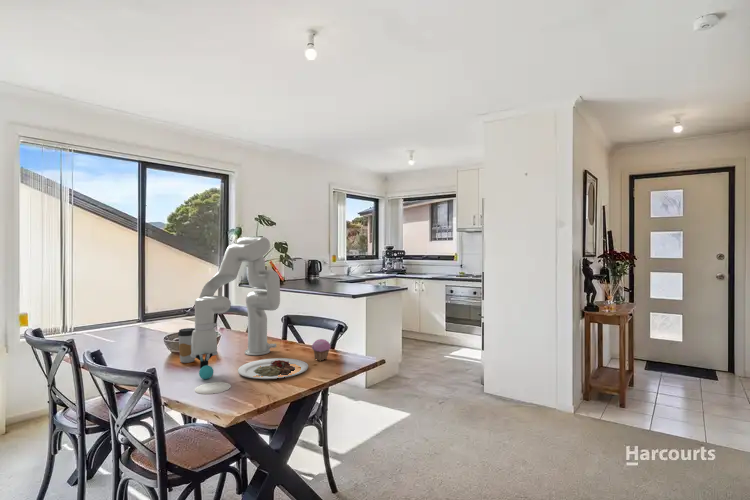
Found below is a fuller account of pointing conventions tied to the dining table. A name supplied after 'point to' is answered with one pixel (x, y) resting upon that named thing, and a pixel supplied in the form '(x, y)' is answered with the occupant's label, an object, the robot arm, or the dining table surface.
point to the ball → (206, 372)
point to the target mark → (212, 388)
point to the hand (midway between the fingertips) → (204, 369)
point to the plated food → (271, 368)
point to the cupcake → (321, 349)
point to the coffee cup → (185, 345)
